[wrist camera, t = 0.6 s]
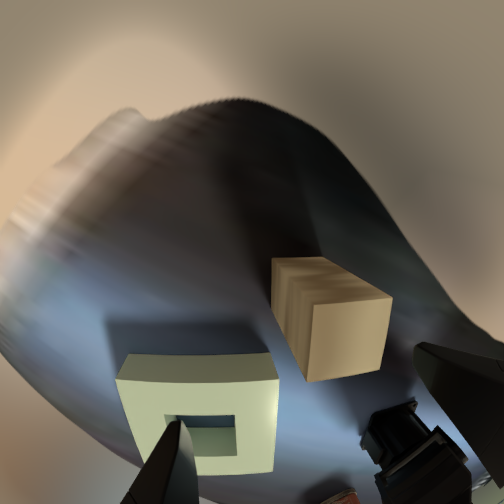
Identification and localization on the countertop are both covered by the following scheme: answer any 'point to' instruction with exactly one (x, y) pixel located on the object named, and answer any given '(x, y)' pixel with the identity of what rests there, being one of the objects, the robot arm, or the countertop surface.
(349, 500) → the lighter
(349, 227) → the countertop surface
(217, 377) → the well holder
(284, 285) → the peg
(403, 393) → the countertop surface
